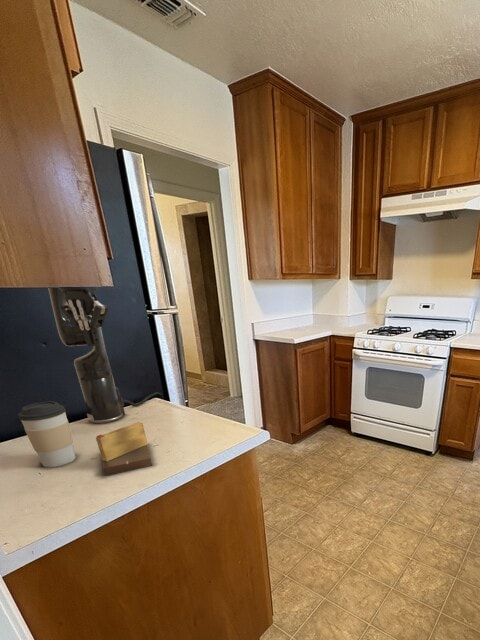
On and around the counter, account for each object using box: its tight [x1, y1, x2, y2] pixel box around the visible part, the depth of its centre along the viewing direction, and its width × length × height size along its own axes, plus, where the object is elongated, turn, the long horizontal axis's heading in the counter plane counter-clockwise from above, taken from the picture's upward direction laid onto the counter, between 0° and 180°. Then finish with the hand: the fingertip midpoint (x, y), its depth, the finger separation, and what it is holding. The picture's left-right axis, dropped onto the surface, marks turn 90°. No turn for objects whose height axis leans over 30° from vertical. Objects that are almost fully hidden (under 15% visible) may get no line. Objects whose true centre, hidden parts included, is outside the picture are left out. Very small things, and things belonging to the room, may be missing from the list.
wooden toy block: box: [95, 421, 148, 461], centre depth 87 cm, size 11×2×6 cm, turn 152°
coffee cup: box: [17, 401, 76, 468], centre depth 86 cm, size 9×9×15 cm
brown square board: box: [90, 444, 160, 477], centre depth 89 cm, size 15×15×2 cm
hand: (93, 345), depth 87 cm, fingers closed
